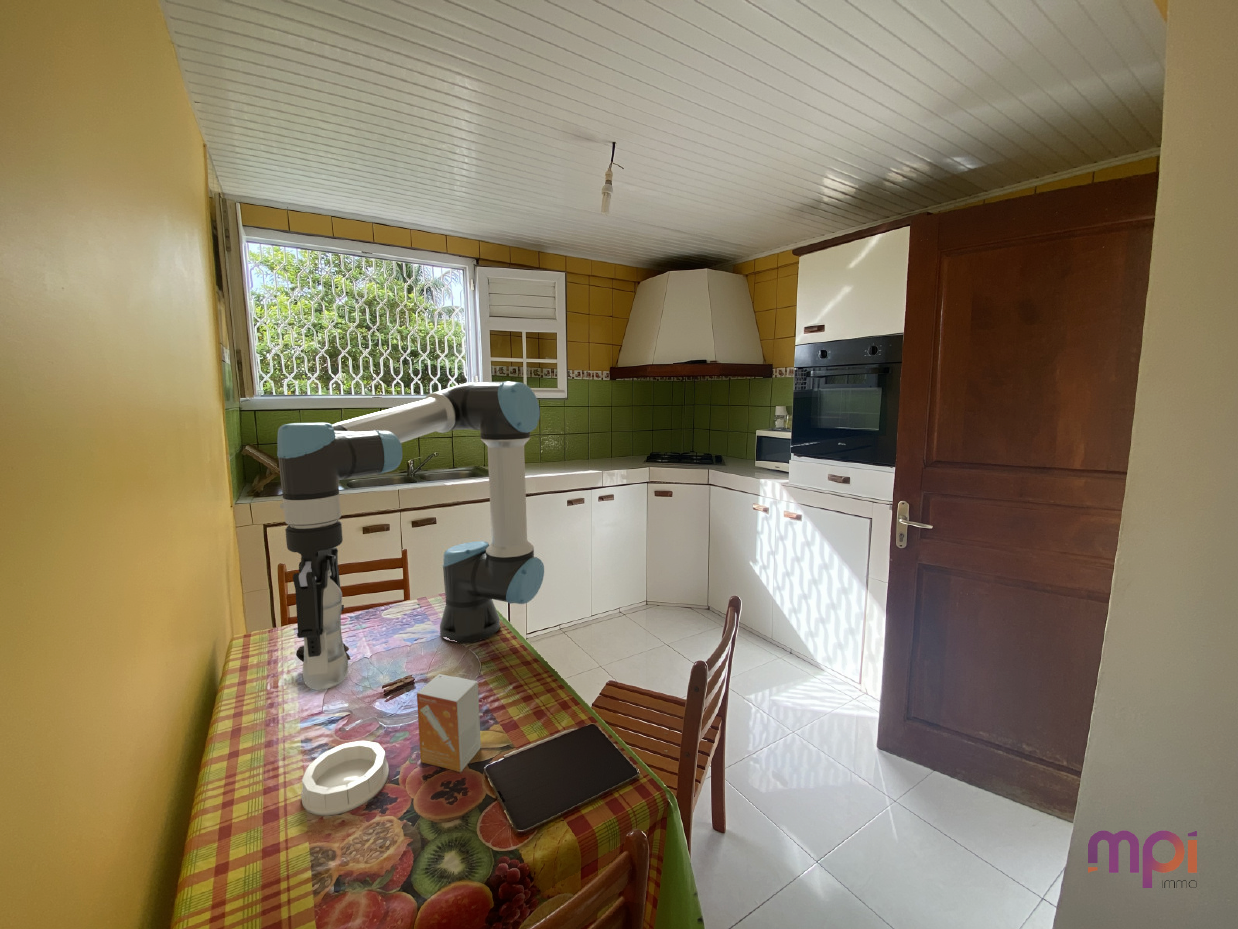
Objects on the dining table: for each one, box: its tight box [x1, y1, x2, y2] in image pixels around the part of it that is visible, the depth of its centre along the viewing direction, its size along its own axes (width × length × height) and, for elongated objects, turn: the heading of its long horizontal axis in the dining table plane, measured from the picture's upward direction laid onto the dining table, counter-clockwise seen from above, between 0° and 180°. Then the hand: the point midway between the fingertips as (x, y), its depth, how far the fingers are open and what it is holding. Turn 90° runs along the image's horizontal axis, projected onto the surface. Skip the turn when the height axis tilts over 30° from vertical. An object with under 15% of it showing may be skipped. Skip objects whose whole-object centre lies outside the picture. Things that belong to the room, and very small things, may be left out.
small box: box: [416, 673, 482, 773], centre depth 87 cm, size 8×6×13 cm
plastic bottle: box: [301, 569, 349, 691], centre depth 81 cm, size 6×7×20 cm
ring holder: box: [300, 739, 390, 817], centre depth 82 cm, size 12×12×3 cm
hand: (325, 661), depth 82 cm, fingers closed on plastic bottle, 6 cm apart
